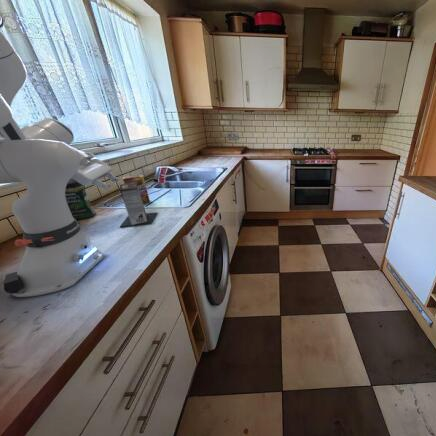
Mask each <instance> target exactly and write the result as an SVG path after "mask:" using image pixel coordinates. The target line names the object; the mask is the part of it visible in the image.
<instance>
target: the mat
mask: <svg viewBox="0 0 436 436" xmlns="http://www.w3.org/2000/svg"><path fill="white" fill-rule="evenodd" d="M146 214H147V220H148V222H144V223H139V224H134V225H132V224H131V221H130V218H129V216H128V215H127V217H126V219H125V220H124V221H122V224H121V225H120V226H119V227H120V228H129V227H138V226H147V225H152V223H154V220H155V218H156V217H157V214H158V212H146Z"/></svg>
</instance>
